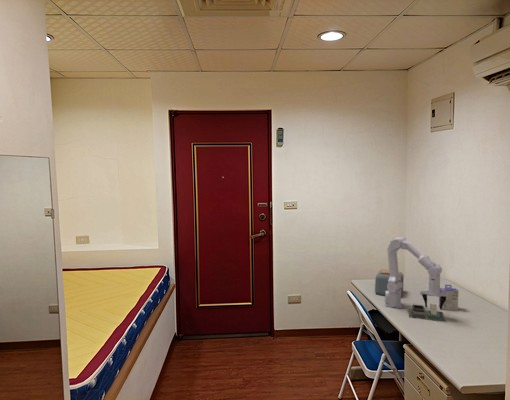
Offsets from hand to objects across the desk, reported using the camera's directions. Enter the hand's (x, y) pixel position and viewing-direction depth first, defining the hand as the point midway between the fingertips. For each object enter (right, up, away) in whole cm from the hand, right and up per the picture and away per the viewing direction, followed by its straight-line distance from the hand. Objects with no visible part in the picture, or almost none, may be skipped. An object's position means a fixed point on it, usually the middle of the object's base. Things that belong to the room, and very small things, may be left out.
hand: (433, 308), depth 209 cm
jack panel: (-4, -5, +2) cm, 6 cm away
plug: (0, -4, 0) cm, 4 cm away
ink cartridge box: (+15, -4, +11) cm, 19 cm away
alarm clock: (-11, -2, +39) cm, 40 cm away
